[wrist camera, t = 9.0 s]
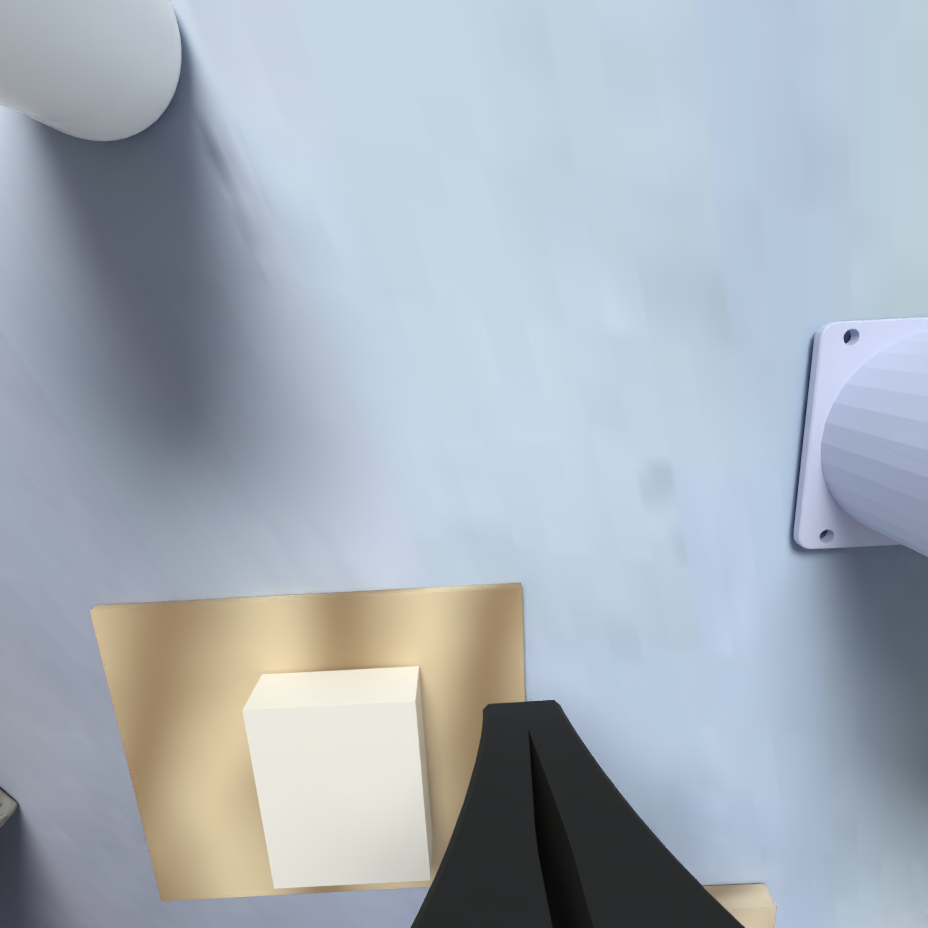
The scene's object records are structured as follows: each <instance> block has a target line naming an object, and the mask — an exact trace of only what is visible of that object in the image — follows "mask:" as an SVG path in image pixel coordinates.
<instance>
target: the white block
mask: <svg viewBox="0 0 928 928" xmlns="http://www.w3.org/2000/svg"><path fill="white" fill-rule="evenodd" d="M242 711H243V717H244V722H245V728H246V733H247V739H248V745H249V750H250V756H251V761H252V767H253V773H254V778H255V784H256V790H257V795H258V801H259V806H260V812H261V818H262V823H263V829H264V834H265V840H266V846H267V851H268V857H269V863H270V868H271V874H272V879H273V885H274V889H277V888H296V887H315V886H334V885H352V884H371V883H390V882H409V881H427V880H431V859H432V838H433V831H432V819H431V806H430V794H429V782H428V770H427V757H426V745H425V733H424V721H423V708H422V696H421V684H420V672H419V666H412V667H393V668H374V669H355V670H337V671H318V672H299V673H280V674H262V676H261V677H260V679H259V681H258V683H257V685H256V686H255V688H254V690H253V692H252V694H251V696H250V697H249V699H248V701H247V703H246V705H245V706H244V708H243V710H242Z"/></svg>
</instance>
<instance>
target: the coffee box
mask: <svg viewBox="0 0 928 928" xmlns="http://www.w3.org/2000/svg"><path fill="white" fill-rule="evenodd" d="M17 806H18V805H17V803H16V802H15V801H14V800H13V799H12V798H10V797H9V796H8V795H7V794H6V793H4V792H3V791H2V790H1V789H0V827H1V826H2V825H3V824H4V823H5V822H6V821H7V820H8V819H9V818H10V816H11V815H12V814H13V813H14V811H15V810H16V809H17Z"/></svg>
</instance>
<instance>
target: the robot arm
mask: <svg viewBox="0 0 928 928" xmlns="http://www.w3.org/2000/svg"><path fill="white" fill-rule="evenodd" d="M848 330H849V331H850V332H851V338H850V341H848V342H847V343H845V342H844V339H843V337H844V334H845V332H847V331H848ZM824 530H827V533H826V536H824V537H823V538H821V539H820V534H821V533H822V532H823V531H824ZM793 535H794V540H795V541H796V543H797V544H799V545H800V546H802V547H804V548H805V549H828V548H847V547H866V546H885V545H904V546H906V547H908V548H910V549H912V550H914V551H916V552H918V553H920V554H922V555H924V556H926V557H928V317H917V318H898V319H879V320H860V321H841V322H829V323H825V324H824V325H822V326H821V327H820V328H819V329H818V330H817V332H816V334H815V337H814V345H813V355H812V364H811V374H810V383H809V392H808V402H807V411H806V421H805V430H804V439H803V449H802V458H801V468H800V477H799V486H798V496H797V505H796V514H795V524H794V533H793ZM411 928H745V927H744V926H743V925H742V924H741V923H740V922H739V921H738V920H737V919H736V918H735V917H734V916H733V915H732V914H731V913H730V912H729V911H727V910H726V909H725V908H724V907H723V906H722V905H721V904H720V903H719V902H718V901H717V900H716V899H715V898H714V897H713V896H712V895H711V894H710V893H709V892H708V891H707V890H706V889H705V888H704V887H703V886H702V885H701V884H700V883H699V882H698V881H697V880H696V879H695V878H694V877H693V876H692V875H691V874H690V873H689V872H688V871H687V870H686V868H685V867H684V866H683V865H682V864H681V863H680V862H679V861H678V860H677V859H676V858H675V857H674V856H673V855H672V853H671V852H670V851H669V850H668V849H667V848H666V847H665V846H664V845H663V843H662V842H661V841H660V840H659V839H658V838H657V837H656V836H655V834H654V833H653V832H652V831H651V830H650V829H649V827H648V826H647V825H646V824H645V823H644V822H643V820H642V819H641V818H640V817H639V816H638V814H637V813H636V812H635V811H634V810H633V808H632V807H631V806H630V805H629V803H628V802H627V801H626V800H625V798H624V797H623V796H622V795H621V793H620V792H619V791H618V789H617V788H616V787H615V786H614V784H613V783H612V782H611V780H610V779H609V778H608V776H607V775H606V774H605V772H604V771H603V770H602V768H601V767H600V766H599V764H598V763H597V762H596V760H595V759H594V757H593V756H592V755H591V753H590V752H589V750H588V749H587V747H586V746H585V744H584V743H583V742H582V740H581V739H580V737H579V736H578V734H577V733H576V731H575V729H574V728H573V726H572V725H571V723H570V722H569V720H568V718H567V717H566V715H565V713H564V711H563V710H562V708H561V706H560V705H559V704H558V703H557V702H556V701H555V700H546V701H529V702H511V703H493V704H488V705H487V706H486V707H485V708H484V709H483V723H482V731H481V738H480V743H479V748H478V752H477V757H476V761H475V765H474V768H473V772H472V775H471V779H470V783H469V786H468V790H467V793H466V796H465V799H464V803H463V805H462V808H461V811H460V814H459V817H458V819H457V822H456V825H455V828H454V830H453V833H452V836H451V839H450V841H449V844H448V847H447V849H446V852H445V854H444V856H443V859H442V861H441V864H440V866H439V869H438V871H437V873H436V876H435V878H434V880H433V882H432V884H431V887H430V889H429V891H428V893H427V895H426V898H425V900H424V902H423V904H422V906H421V908H420V910H419V912H418V914H417V916H416V918H415V920H414V922H413V924H412V926H411Z"/></svg>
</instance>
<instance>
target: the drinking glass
mask: <svg viewBox="0 0 928 928" xmlns="http://www.w3.org/2000/svg"><path fill="white" fill-rule="evenodd" d="M181 62H182V49H181V38H180V32H179V27H178V23H177V19H176V16H175V13H174V9H173V7H172V4H171V2H170V0H0V105H1V106H3V107H6V108H9V109H11V110H14V111H17V112H19V113H22V114H24V115H26V116H28V117H30V118H33V119H35V120H37V121H39V122H41V123H43V124H45V125H47V126H49V127H51V128H54V129H56V130H58V131H60V132H63V133H65V134H68V135H71V136H74V137H77V138H81V139H86V140H92V141H114V140H120V139H124V138H128V137H131V136H133V135H136V134H138V133H140V132H142V131H143V130H145V129H146V128H148V127H149V126H151V125H152V124H153V123H154V122H155V121H156V120H157V119H158V118H159V117H160V116H161V115H162V114H163V112H164V111H165V110H166V108H167V107H168V105H169V103H170V101H171V100H172V98H173V95H174V93H175V91H176V88H177V84H178V81H179V76H180V71H181Z"/></svg>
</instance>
